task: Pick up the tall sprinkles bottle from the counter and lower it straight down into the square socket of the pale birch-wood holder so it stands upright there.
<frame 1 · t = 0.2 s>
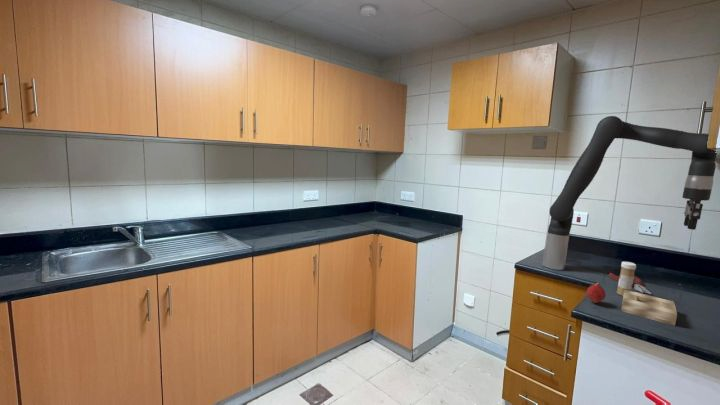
hand: (689, 227, 128), 29 cm above the table, tool pointing down, fingers open, 8 cm apart
pliers: (627, 285, 143), on the table
sprinkles bottle: (623, 295, 131), on the table
onion: (594, 303, 122), on the table
holder: (646, 311, 116), on the table
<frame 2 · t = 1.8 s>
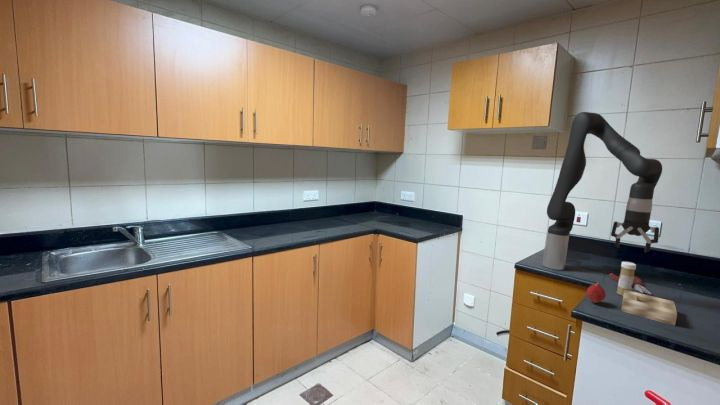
hand: (631, 249, 128), 19 cm above the table, tool pointing down, fingers open, 8 cm apart
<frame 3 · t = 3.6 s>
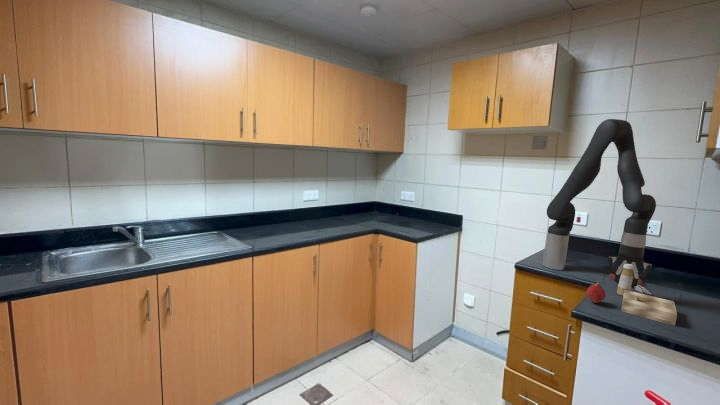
hand: (625, 284, 130), 4 cm above the table, tool pointing down, fingers closed on sprinkles bottle, 4 cm apart
sprinkles bottle: (623, 295, 131), on the table, touching gripper
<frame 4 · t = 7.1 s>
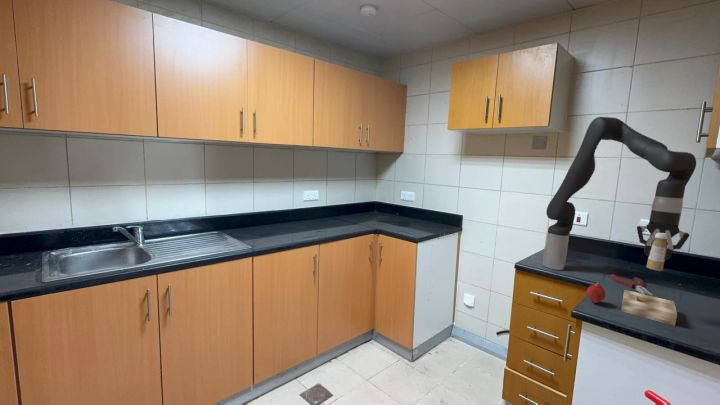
hand: (656, 257, 113), 20 cm above the table, tool pointing down, fingers closed on sprinkles bottle, 4 cm apart
sprinkles bottle: (654, 269, 114), point 16 cm above the table, touching gripper
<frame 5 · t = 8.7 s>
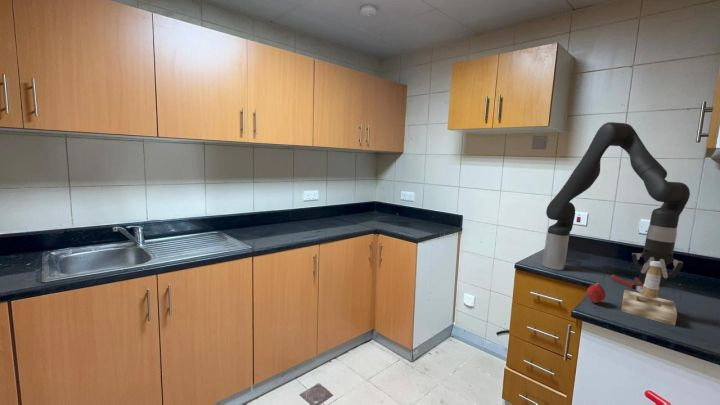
hand: (651, 284, 115), 10 cm above the table, tool pointing down, fingers closed on sprinkles bottle, 4 cm apart
sprinkles bottle: (649, 296, 116), point 6 cm above the table, touching gripper
when the fingers open (6 cm above the table, at t = 10.4 s): sprinkles bottle stays where it is, resting on holder.
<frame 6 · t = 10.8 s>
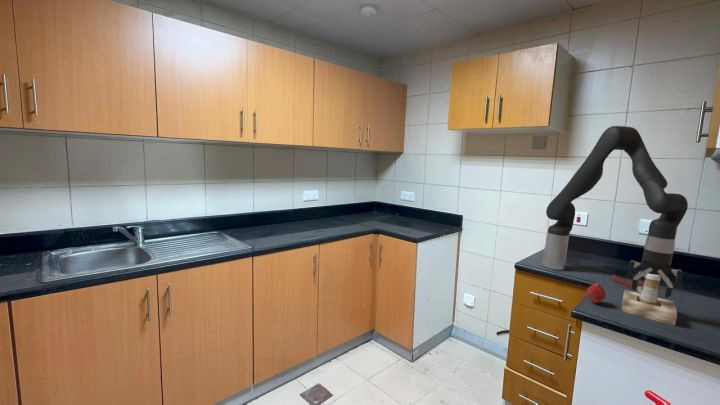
hand: (650, 293, 115), 7 cm above the table, tool pointing down, fingers open, 8 cm apart
sprinkles bottle: (646, 309, 116), point 1 cm above the table, touching holder
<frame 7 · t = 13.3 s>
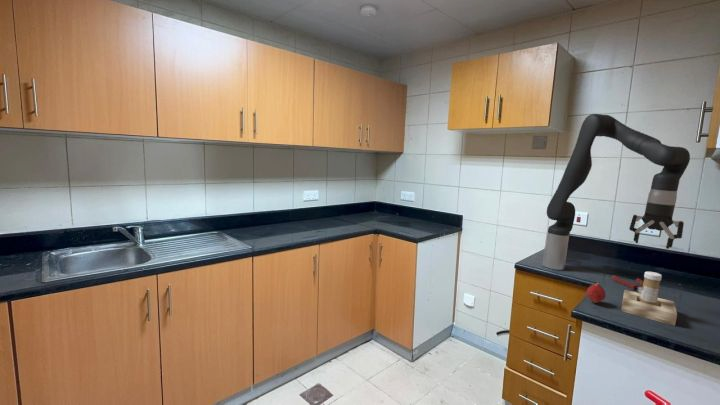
hand: (651, 245, 119), 23 cm above the table, tool pointing down, fingers open, 8 cm apart
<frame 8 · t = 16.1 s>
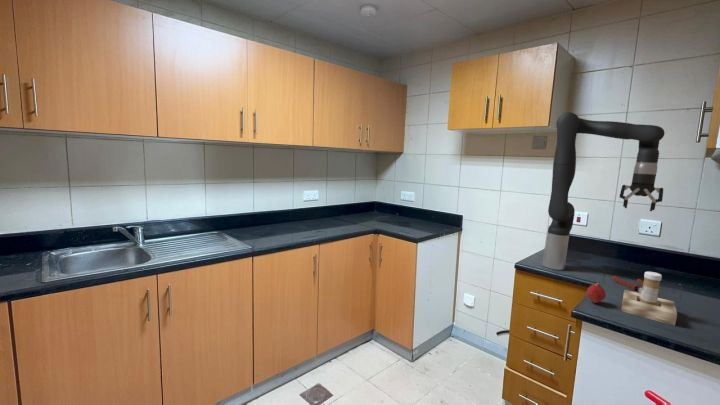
hand: (638, 209, 142), 33 cm above the table, tool pointing down, fingers open, 8 cm apart
at the end: sprinkles bottle 0.1 cm off-centre on the holder, point 0.8 cm above the holder's base; sprinkles bottle tilted 0°; the gripper is holding nothing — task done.
